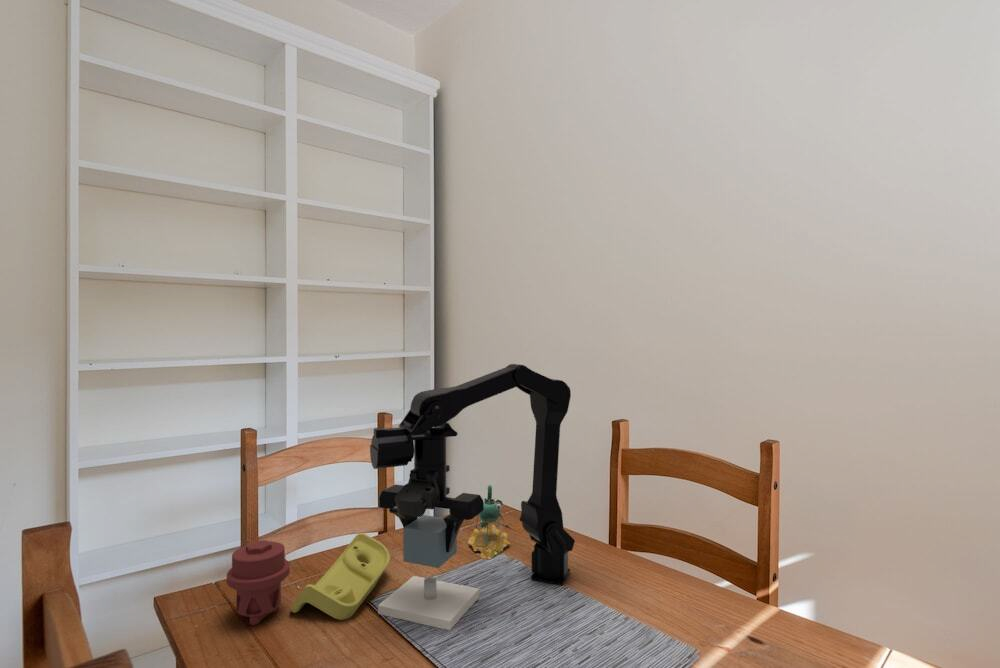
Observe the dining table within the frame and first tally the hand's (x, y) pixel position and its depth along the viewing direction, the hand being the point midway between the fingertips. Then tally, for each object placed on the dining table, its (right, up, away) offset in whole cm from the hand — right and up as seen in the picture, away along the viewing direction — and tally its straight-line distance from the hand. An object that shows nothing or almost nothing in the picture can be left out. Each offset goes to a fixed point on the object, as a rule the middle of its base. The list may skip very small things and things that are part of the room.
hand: (430, 548), depth 96 cm
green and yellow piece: (+10, -10, +28) cm, 32 cm away
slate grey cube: (0, -2, 0) cm, 2 cm away
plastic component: (-16, -11, +4) cm, 20 cm away
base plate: (0, -10, 0) cm, 10 cm away
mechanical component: (-29, -10, -3) cm, 31 cm away
